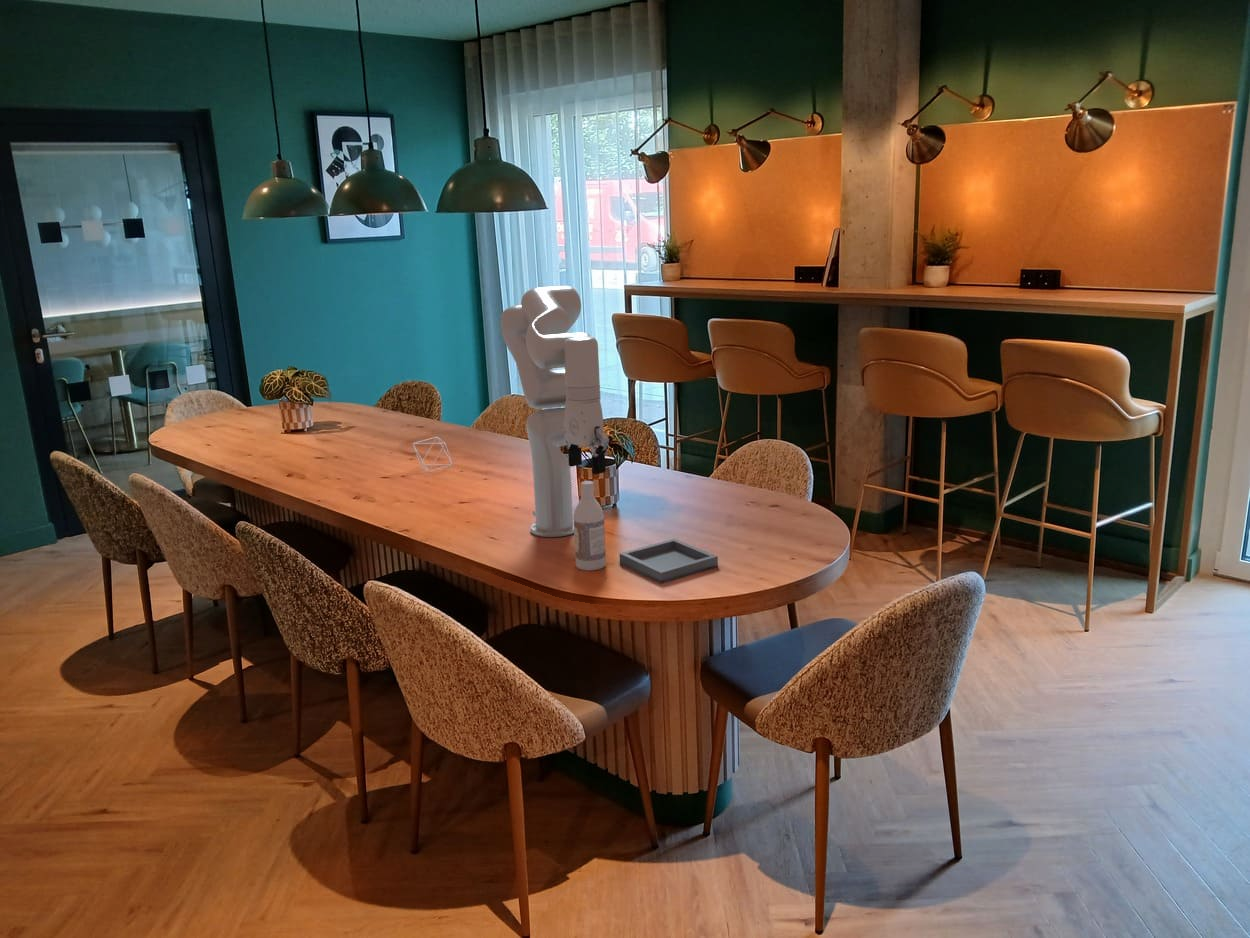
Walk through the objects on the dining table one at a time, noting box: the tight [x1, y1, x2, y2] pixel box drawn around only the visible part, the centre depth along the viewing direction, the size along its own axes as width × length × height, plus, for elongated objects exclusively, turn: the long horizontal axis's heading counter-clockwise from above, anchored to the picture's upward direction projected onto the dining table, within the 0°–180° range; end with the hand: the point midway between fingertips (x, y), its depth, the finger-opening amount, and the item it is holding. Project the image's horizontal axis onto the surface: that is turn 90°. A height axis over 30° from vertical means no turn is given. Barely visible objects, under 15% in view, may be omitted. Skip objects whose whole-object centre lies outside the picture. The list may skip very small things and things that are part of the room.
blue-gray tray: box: [618, 538, 719, 584], centre depth 218 cm, size 16×16×2 cm
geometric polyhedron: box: [412, 436, 453, 473], centre depth 312 cm, size 12×11×9 cm
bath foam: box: [573, 480, 607, 572], centre depth 217 cm, size 7×7×20 cm
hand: (587, 469), depth 213 cm, fingers open, 9 cm apart
